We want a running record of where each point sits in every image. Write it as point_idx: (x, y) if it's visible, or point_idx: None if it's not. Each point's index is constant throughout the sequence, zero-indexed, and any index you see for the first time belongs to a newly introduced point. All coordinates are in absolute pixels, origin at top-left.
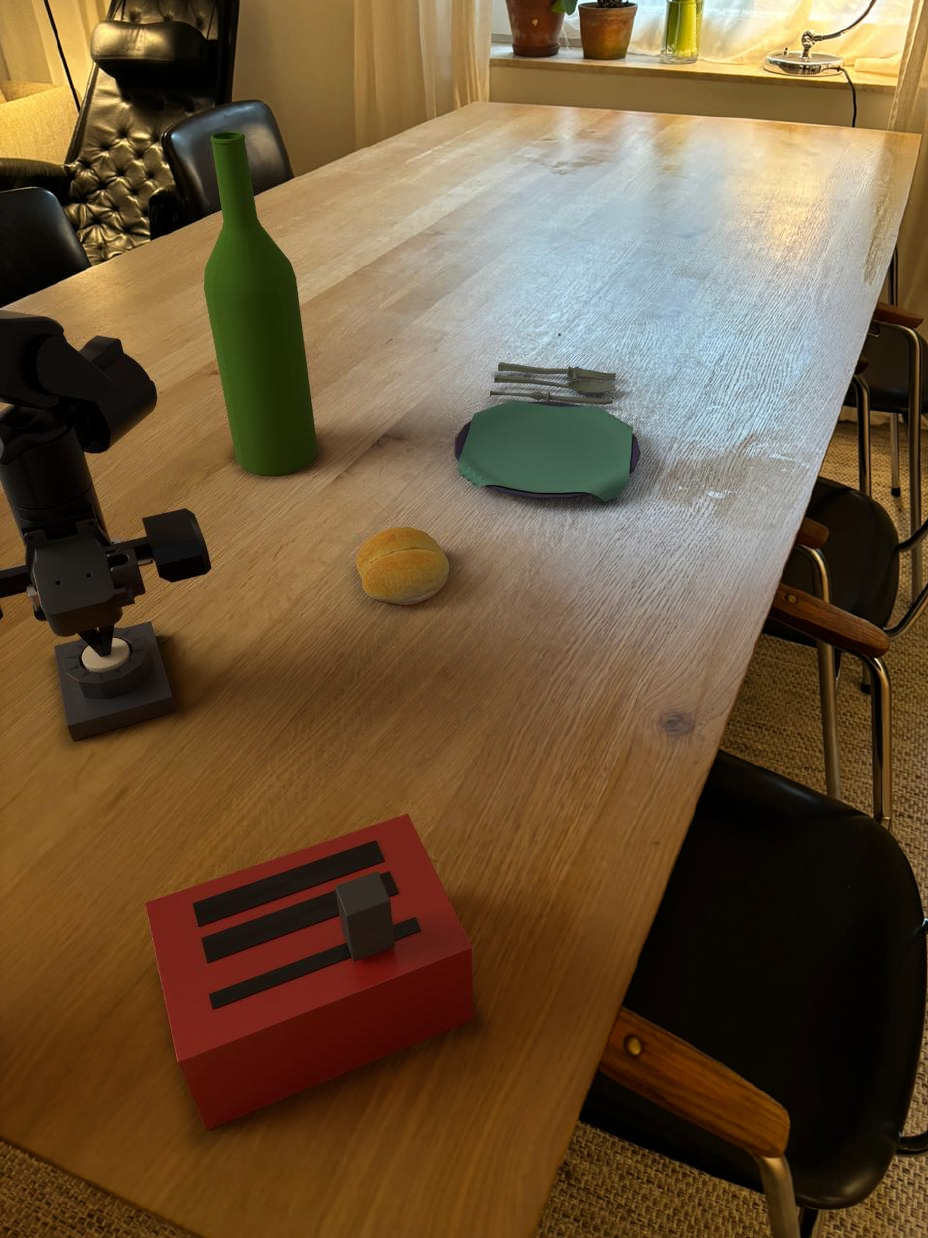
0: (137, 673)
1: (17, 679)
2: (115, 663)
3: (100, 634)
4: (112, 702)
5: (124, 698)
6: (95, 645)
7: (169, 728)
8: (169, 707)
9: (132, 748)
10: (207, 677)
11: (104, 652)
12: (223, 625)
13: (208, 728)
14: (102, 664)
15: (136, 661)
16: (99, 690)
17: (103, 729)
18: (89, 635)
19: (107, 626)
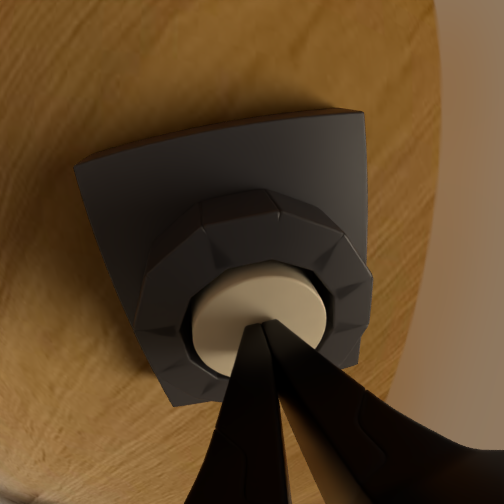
0: (161, 249)
1: (407, 304)
2: (229, 288)
3: (276, 392)
4: (244, 170)
5: (209, 179)
6: (294, 351)
7: (105, 98)
8: (97, 154)
9: (197, 44)
10: (42, 257)
11: (263, 331)
12: (57, 376)
13: (22, 92)
14: (271, 290)
15: (161, 290)
16: (281, 200)
17: (270, 115)
18: (321, 388)
19: (244, 428)
